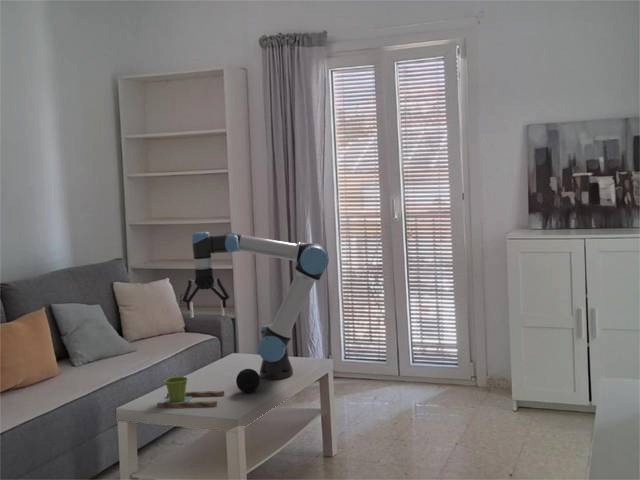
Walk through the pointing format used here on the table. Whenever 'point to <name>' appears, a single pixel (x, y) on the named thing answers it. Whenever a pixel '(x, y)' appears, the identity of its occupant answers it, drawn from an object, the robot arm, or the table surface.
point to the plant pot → (176, 388)
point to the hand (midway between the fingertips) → (207, 316)
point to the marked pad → (181, 401)
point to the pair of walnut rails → (193, 404)
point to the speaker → (248, 380)
